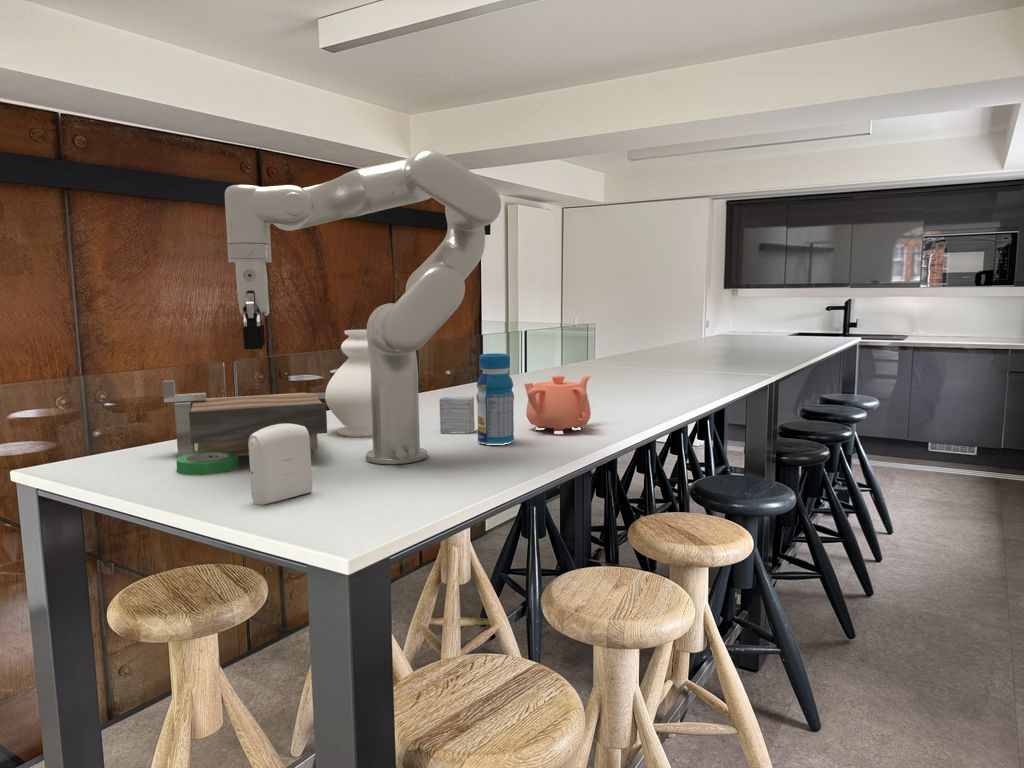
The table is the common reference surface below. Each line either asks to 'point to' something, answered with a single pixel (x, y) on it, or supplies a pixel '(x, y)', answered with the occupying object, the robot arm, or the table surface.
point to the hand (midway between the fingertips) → (255, 347)
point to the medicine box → (457, 414)
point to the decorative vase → (352, 387)
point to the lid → (254, 416)
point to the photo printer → (279, 463)
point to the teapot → (558, 403)
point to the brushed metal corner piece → (172, 397)
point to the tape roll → (207, 462)
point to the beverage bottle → (495, 400)
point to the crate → (233, 446)
